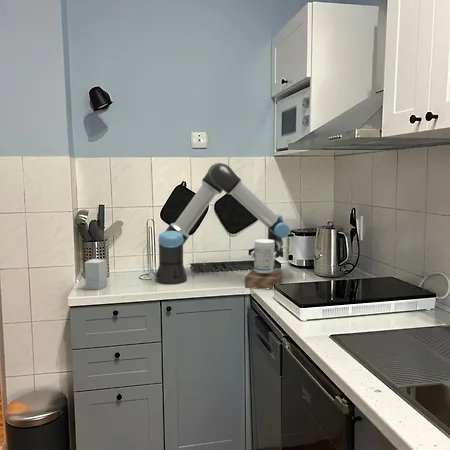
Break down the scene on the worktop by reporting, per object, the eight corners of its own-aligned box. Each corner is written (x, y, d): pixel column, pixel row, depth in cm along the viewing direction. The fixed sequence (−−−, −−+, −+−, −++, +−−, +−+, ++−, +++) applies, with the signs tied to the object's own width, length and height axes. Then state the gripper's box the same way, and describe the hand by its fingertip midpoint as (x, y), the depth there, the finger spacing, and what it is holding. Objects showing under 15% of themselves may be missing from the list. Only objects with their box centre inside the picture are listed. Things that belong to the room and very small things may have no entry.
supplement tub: (261, 267, 227) (262, 238, 225) (278, 271, 221) (278, 240, 219) (249, 271, 219) (250, 240, 217) (266, 275, 213) (267, 243, 211)
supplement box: (107, 286, 218) (107, 259, 216) (99, 290, 211) (98, 262, 209) (93, 284, 220) (92, 258, 218) (85, 289, 213) (84, 261, 211)
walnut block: (244, 287, 216) (245, 276, 216) (251, 279, 230) (251, 269, 229) (277, 289, 212) (277, 279, 211) (282, 282, 226) (282, 272, 225)
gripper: (293, 256, 233) (286, 266, 212) (249, 253, 240) (239, 263, 218) (293, 241, 232) (286, 250, 211) (250, 239, 238) (239, 247, 217)
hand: (262, 256), depth 215 cm, fingers closed on supplement tub, 9 cm apart
